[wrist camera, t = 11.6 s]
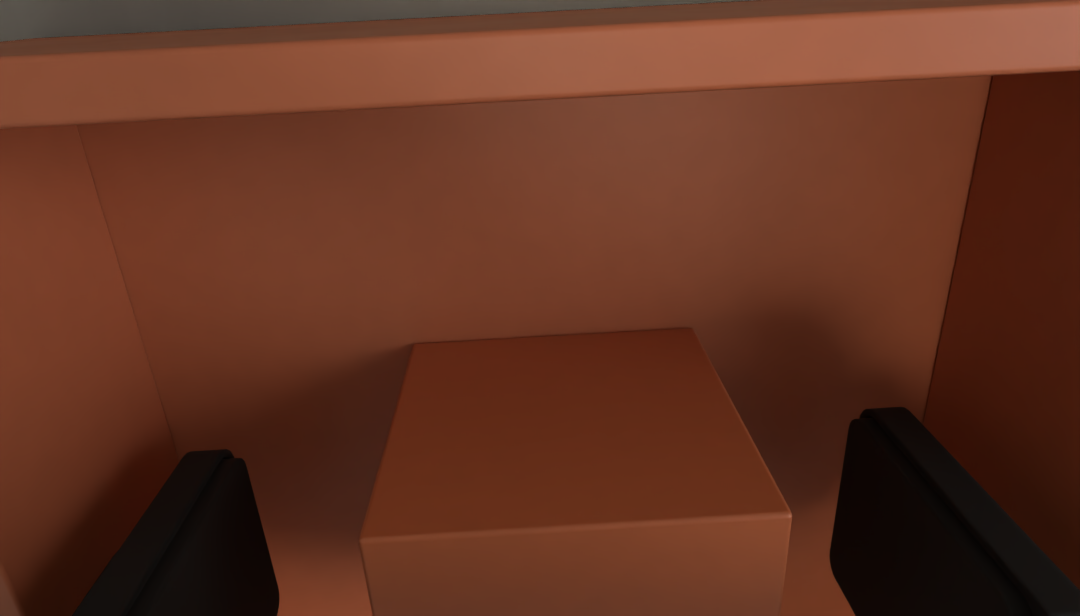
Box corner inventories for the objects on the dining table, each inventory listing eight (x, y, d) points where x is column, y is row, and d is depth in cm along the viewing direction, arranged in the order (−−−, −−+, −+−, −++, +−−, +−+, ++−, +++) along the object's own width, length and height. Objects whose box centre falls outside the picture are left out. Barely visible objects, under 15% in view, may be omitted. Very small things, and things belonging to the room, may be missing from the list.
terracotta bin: (247, 718, 16) (152, 978, 12) (34, 38, 10) (-303, 72, 6) (880, 676, 16) (1009, 918, 12) (1023, -14, 10) (1372, -17, 6)
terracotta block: (440, 560, 14) (409, 816, 9) (412, 342, 12) (355, 541, 7) (683, 544, 14) (760, 793, 9) (693, 326, 12) (795, 513, 8)
